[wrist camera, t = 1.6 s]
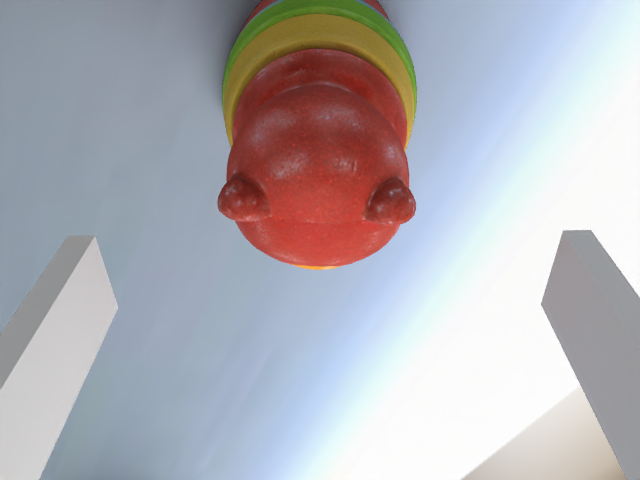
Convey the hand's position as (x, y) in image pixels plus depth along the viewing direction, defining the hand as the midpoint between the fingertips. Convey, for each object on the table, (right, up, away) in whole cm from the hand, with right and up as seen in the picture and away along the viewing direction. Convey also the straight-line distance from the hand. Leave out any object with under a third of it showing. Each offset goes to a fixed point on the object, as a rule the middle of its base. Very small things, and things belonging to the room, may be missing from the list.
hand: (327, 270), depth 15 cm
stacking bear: (0, +11, +16) cm, 20 cm away
